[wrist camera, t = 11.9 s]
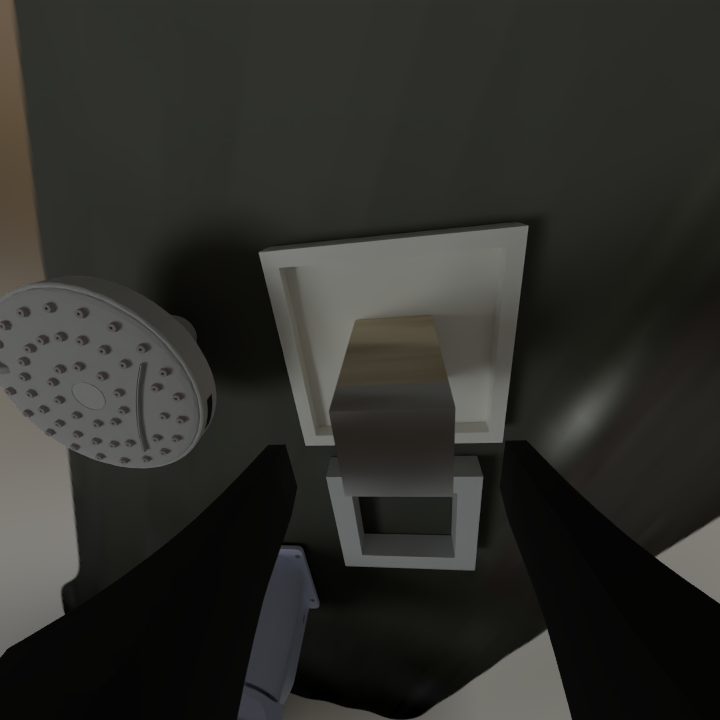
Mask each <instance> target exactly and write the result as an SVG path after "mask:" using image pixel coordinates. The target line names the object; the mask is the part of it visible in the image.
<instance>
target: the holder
mask: <svg viewBox="0 0 720 720" xmlns="http://www.w3.org/2000/svg"><path fill="white" fill-rule="evenodd" d="M326 478H327V483H328V488H329V492H330V497H331V501H332V506H333V510H334V515H335V520H336V524H337V529H338V533H339V538H340V543H341V547H342V552H343V556H344V561H345V565H346V566H361V567H391V568H420V569H450V570H475V561H476V550H477V539H478V528H479V517H480V507H481V496H482V485H483V474H482V471H481V467H480V464H479V461H478V457H477V456H454V480H453V502H452V533H451V535H409V534H364V530H363V524H362V517H361V511H360V505H359V499H358V497H357V496H345V494H344V489H343V484H342V479H341V473H340V468H339V463H338V458H337V457H331V459H330V463H329V467H328V472H327V476H326Z"/></svg>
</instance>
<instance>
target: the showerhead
mask: <svg viewBox="0 0 720 720" xmlns="http://www.w3.org/2000/svg"><path fill="white" fill-rule="evenodd" d="M196 340H197V334H196V331H195V329H194V327H193V326H192V324H191V323H190V322H189V321H188V320H186V319H184V318H182V317H180V316H176V315H170V314H169V313H167V312H166V311H165V310H164V309H162V308H161V307H160V306H158V305H157V304H156V303H154V302H153V301H151V300H149V299H148V298H146V297H145V296H143V295H141V294H139V293H137V292H135V291H133V290H131V289H129V288H127V287H125V286H122V285H120V284H117V283H114V282H111V281H108V280H104V279H100V278H95V277H89V276H62V277H56V278H52V279H48V280H44V281H40V282H36V283H32V284H28V285H24V286H21V287H18V288H16V289H13V290H11V291H9V292H8V293H7V294H5V295H3V296H2V297H1V298H0V385H1V387H2V388H3V390H4V391H5V393H6V394H7V396H8V397H9V398H10V399H11V401H12V402H13V403H14V404H15V405H16V407H17V408H18V409H19V410H20V411H21V412H22V414H23V415H24V416H25V417H27V418H29V419H30V420H31V421H32V422H33V423H34V424H35V425H36V426H37V427H38V428H40V429H41V430H42V431H44V432H45V434H46V435H48V436H51V437H52V438H54V439H55V440H57V441H58V442H60V443H61V444H63V445H65V446H66V447H68V448H70V449H71V450H73V451H76V452H78V453H80V454H82V455H85V456H87V457H90V458H92V459H95V460H98V461H101V462H104V463H108V464H112V465H116V466H121V467H130V468H151V467H159V466H164V465H167V464H170V463H173V462H175V461H177V460H179V459H181V458H182V457H184V456H185V455H187V454H188V453H189V452H190V451H191V450H192V449H193V448H194V447H195V445H196V444H197V442H198V441H199V439H200V438H201V437H202V435H203V434H204V432H205V431H206V429H207V428H208V426H209V425H210V423H211V420H212V418H213V415H214V412H215V408H216V388H215V383H214V379H213V375H212V372H211V369H210V367H209V365H208V362H207V360H206V358H205V356H204V355H203V353H202V351H201V350H200V348H199V346H198V345H197V343H196Z"/></svg>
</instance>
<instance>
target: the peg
mask: <svg viewBox="0 0 720 720" xmlns="http://www.w3.org/2000/svg"><path fill="white" fill-rule="evenodd" d="M329 417H330V422H331V427H332V432H333V437H334V442H335V448H336V453H337V458H338V463H339V468H340V473H341V479H342V484H343V489H344V494H345V496H357V497H453V480H454V444H455V404H454V400H453V396H452V392H451V388H450V385H449V381H448V377H447V373H446V369H445V365H444V361H443V358H442V354H441V350H440V346H439V342H438V338H437V334H436V331H435V327H434V323H433V319H432V315H420V316H406V317H392V318H378V319H364V320H355V322H354V326H353V329H352V333H351V336H350V340H349V343H348V347H347V350H346V353H345V357H344V360H343V364H342V367H341V371H340V374H339V378H338V381H337V384H336V388H335V391H334V395H333V398H332V402H331V405H330V409H329Z"/></svg>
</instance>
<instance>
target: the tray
mask: <svg viewBox="0 0 720 720" xmlns="http://www.w3.org/2000/svg"><path fill="white" fill-rule="evenodd" d="M528 227H529V226H528V225H525V224H522V223H520V222H509V223H499V224H489V225H479V226H469V227H460V228H450V229H440V230H430V231H420V232H410V233H400V234H390V235H380V236H371V237H361V238H351V239H341V240H331V241H321V242H311V243H301V244H291V245H281V246H272V247H268V248H266V249H264V250H262V251H260V252H259V256H260V260H261V264H262V268H263V272H264V276H265V281H266V285H267V289H268V293H269V297H270V301H271V305H272V309H273V313H274V317H275V322H276V326H277V330H278V334H279V338H280V342H281V346H282V350H283V354H284V359H285V363H286V367H287V371H288V375H289V379H290V383H291V387H292V391H293V395H294V400H295V404H296V408H297V412H298V416H299V420H300V424H301V428H302V432H303V436H304V441H305V445H306V446H314V445H335V442H334V437H333V432H332V427H331V422H330V417H329V409H330V405H331V402H332V398H333V395H334V391H335V388H336V384H337V381H338V378H339V374H340V371H341V367H342V364H343V360H344V357H345V353H346V350H347V347H348V343H349V340H350V336H351V333H352V329H353V326H354V322H355V320H364V319H378V318H392V317H406V316H420V315H432V319H433V323H434V327H435V331H436V334H437V338H438V342H439V346H440V350H441V354H442V358H443V361H444V365H445V369H446V373H447V377H448V381H449V385H450V388H451V392H452V396H453V400H454V404H455V443H502V442H503V434H504V425H505V417H506V409H507V400H508V392H509V384H510V376H511V367H512V359H513V351H514V342H515V334H516V326H517V318H518V309H519V301H520V293H521V285H522V276H523V268H524V260H525V251H526V243H527V235H528Z"/></svg>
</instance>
